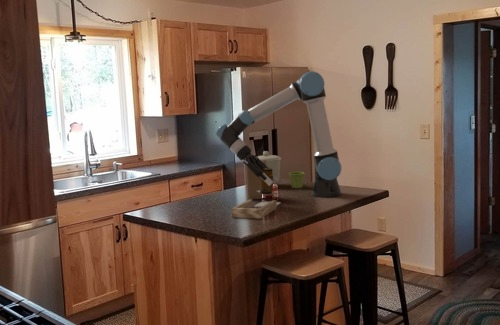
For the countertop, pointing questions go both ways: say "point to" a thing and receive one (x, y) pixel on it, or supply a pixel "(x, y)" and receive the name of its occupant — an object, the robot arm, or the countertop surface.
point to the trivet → (265, 204)
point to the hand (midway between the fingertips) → (273, 182)
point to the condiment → (264, 187)
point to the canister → (272, 163)
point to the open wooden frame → (252, 210)
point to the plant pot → (296, 179)
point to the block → (253, 184)
